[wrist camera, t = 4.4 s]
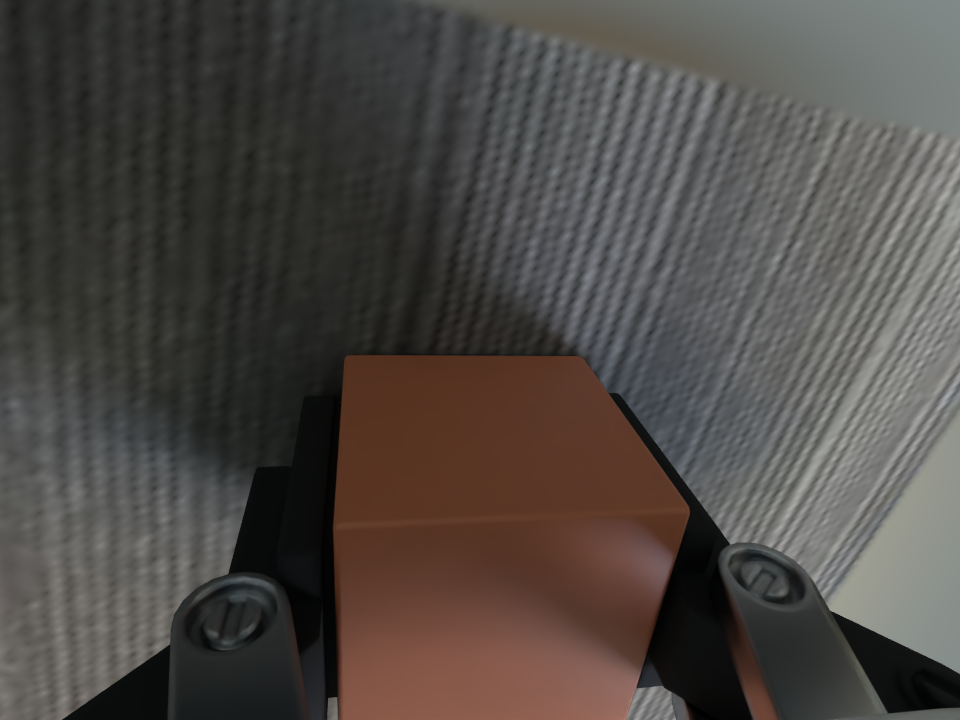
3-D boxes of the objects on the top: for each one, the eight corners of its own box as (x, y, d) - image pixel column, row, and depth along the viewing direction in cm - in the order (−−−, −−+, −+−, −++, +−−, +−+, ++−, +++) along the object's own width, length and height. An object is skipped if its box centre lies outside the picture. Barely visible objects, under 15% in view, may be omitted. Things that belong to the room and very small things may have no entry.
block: (346, 543, 12) (338, 763, 9) (344, 352, 11) (333, 526, 7) (550, 532, 13) (625, 729, 9) (582, 354, 11) (694, 509, 8)
